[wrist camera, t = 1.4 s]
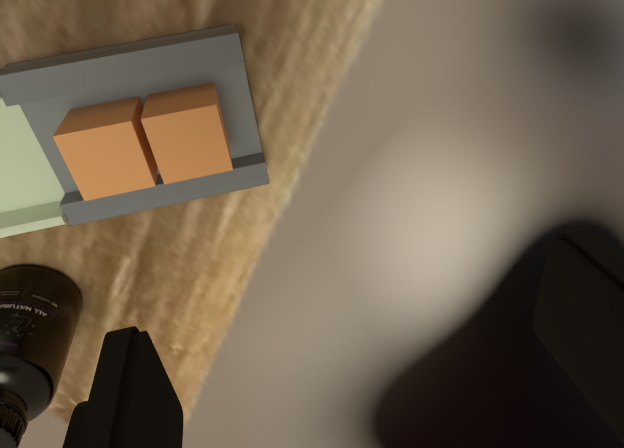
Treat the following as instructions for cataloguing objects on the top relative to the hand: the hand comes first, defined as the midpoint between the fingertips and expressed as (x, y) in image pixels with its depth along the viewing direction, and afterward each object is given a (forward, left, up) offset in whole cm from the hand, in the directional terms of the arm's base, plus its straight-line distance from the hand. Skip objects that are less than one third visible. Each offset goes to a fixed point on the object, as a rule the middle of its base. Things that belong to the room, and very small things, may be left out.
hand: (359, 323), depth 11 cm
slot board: (+2, -7, -22) cm, 23 cm away
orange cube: (+2, -5, -21) cm, 22 cm away
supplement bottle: (+14, -20, -22) cm, 33 cm away
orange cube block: (+2, -9, -21) cm, 23 cm away
